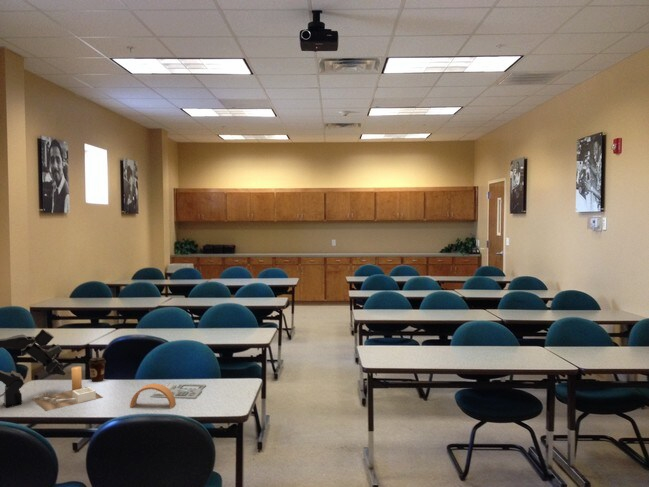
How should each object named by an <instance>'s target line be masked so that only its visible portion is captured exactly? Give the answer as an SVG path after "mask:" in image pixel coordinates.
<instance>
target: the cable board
mask: <svg viewBox="0 0 649 487" xmlns="http://www.w3.org/2000/svg"><path fill="white" fill-rule="evenodd" d="M87 387H88V386H84V387H82V389H83V388H87ZM103 398H104V397H103V396H102V395H100V394H98V393H97V392H96V399H93V400H89V401H85V402H81V403H80V404H82V403H87V402H92V401H94V400H95V401H96V400H99V399H103ZM31 400H32V401H33V402H35V404H36V405H38V406H39V407H40V408H41V409H42V410H44V411H45V412H48V411H53V410H57V409H62V408H65V407H70V406H73V405H78V404H79V403H78V402H76V399H75V398H73V397H72V389H71V390H67V391H63V392H59V393H58V392H57V393H54V394H50V395H49V393H48V392H44V393H43V394H39V395H37V396H36V395H35V396H34V398H32V399H31Z"/></svg>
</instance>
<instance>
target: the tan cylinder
mask: <svg viewBox="0 0 649 487" xmlns="http://www.w3.org/2000/svg"><path fill="white" fill-rule="evenodd" d="M82 378H83V377H82V366H78V365H77V366H72V367H71V390H72V391H74V390H78V389H82V388H83V385H82V384H83V383H82V382H83V381H82Z"/></svg>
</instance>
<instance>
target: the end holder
mask: <svg viewBox="0 0 649 487" xmlns="http://www.w3.org/2000/svg"><path fill="white" fill-rule="evenodd" d="M86 387H87V388H85V387H82V388H83V389H78V390H74V391H72V397H73V398H75V399H76V402H78V404H82V403H81V402H83V403H86V402H85V401H87V402H90V401H89V400H91V401H94V400H93V399H95V400H97V399H96V393H97V392H96V390H95V389H94V388H92V387H90V386H89V387H88V386H86Z"/></svg>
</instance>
